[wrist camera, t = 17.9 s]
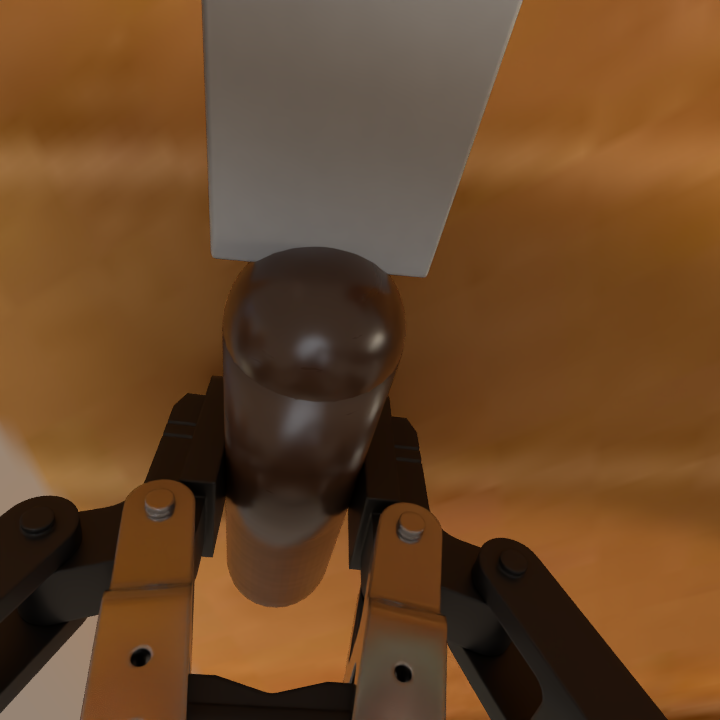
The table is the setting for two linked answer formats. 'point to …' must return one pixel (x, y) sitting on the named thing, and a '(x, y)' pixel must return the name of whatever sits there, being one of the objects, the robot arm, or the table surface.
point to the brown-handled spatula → (326, 240)
